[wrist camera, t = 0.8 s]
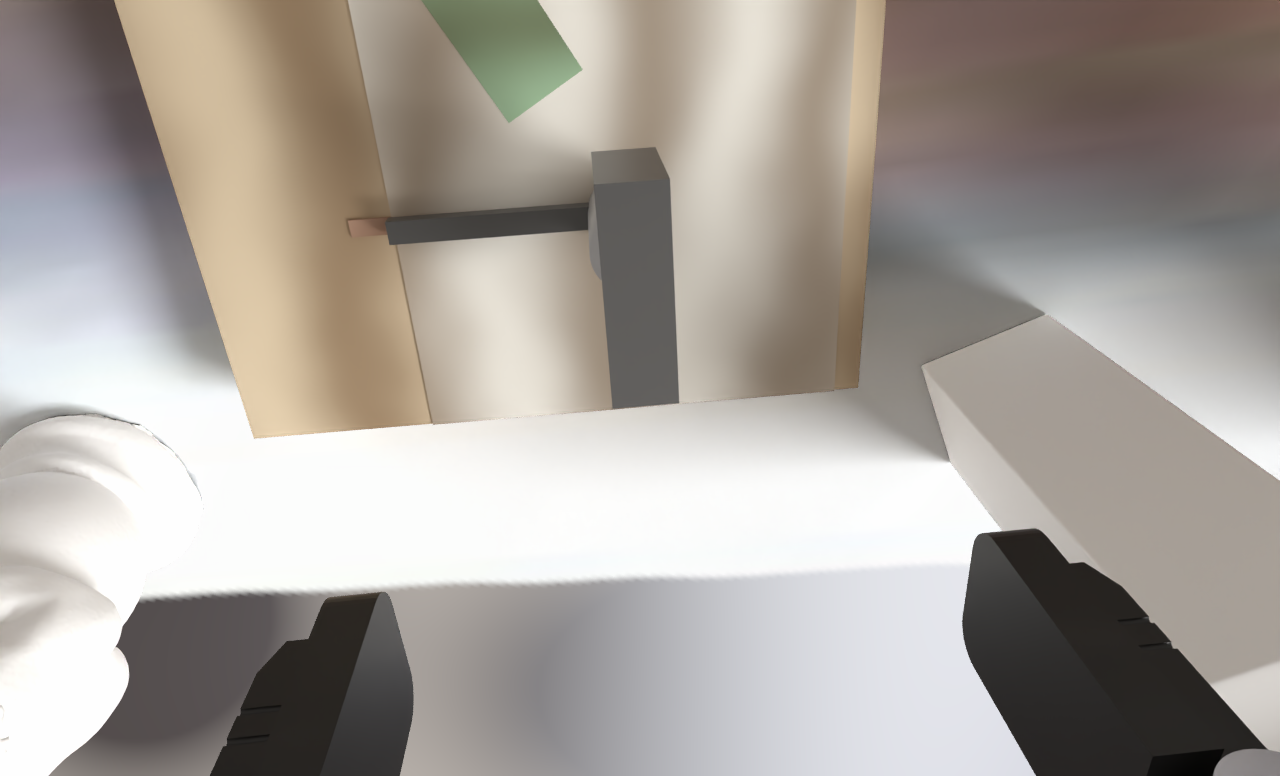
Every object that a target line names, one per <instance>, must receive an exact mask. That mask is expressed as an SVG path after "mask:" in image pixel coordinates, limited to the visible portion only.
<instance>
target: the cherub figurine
mask: <svg viewBox="0 0 1280 776" xmlns="http://www.w3.org/2000/svg"><path fill="white" fill-rule="evenodd" d="M201 501H202V500H201V496H200V493H199V492H198V490H197V488H196V486H194V484H193V482H192V480H191V478H190V476H189V474H188V473H187V471H186V468H185V467H184V465H183V464H182V463H181V461H180V460H179V459H178V458H177V456H175V453H174V452H173V451H171V449H169V448H168V447H165V445H164V444H161V443H160V442H159V440H158V439H156V438H155V437H154V436H153V434H152V433H151V432H149V431H147V430H146V429H144V427H142V426H141V425H140V426H138V425H135V424H133V425H131V424H130V423H127V422H123V421H120V420H112V419H111V418H108V417H107V418H104V417H103V416H100V415H98V414H96V415H94V414H88V415H86V414H85V416H84V415H76V416H61V417H59V416H55V418H48V419H46V420H42V421H39V422H36V423H34V424H31V425H29V426H27V427H25V428H23V429H22V430H20V431H19V432H17V433H16V434H14V435H13V436H12V437H11V438H10V439H9V440H8V441H7V442H6V443H5V444H4V445H3V446H2V447H1V449H0V776H48V775H49V774H50V773H51V772H52V771H53V770H54V769H55V768H56V767H57V766H58V765H59V764H60V763H61V762H62V761H63V760H64V759H65V758H67V757H68V756H69V755H70V754H71V753H72V752H74V751H75V750H77V749H78V748H79V747H81V746H82V745H83V744H84V743H86V742H87V741H88V740H89V739H90V738H91V737H92V736H93V735H94V734H95V733H96V732H97V731H98V730H99V729H100V728H101V727H102V725H103V724H104V723H105V722H106V720H107V719H108V718H109V716H110V715H111V713H112V712H113V711H114V709H115V708H116V706H117V705H118V703H119V702H120V700H121V698H122V696H123V694H124V692H125V689H126V687H127V684H128V680H129V669H128V664H127V661H126V659H125V656H124V655H123V653H122V652H121V651H120V650H119V649H118V648H117V647H115V646H116V644H117V643H118V640H119V637H120V634H121V630H122V626H123V625H124V623H125V622H126V621H127V619H128V618H129V616H130V615H131V613H132V611H133V610H134V608H135V606H136V604H137V602H138V600H139V598H140V596H141V593H142V591H143V587H144V583H145V580H146V573H147V572H151V571H154V570H156V569H159V568H162V567H164V566H166V565H167V564H169V563H171V562H172V561H174V560H175V559H176V558H178V557H179V556H180V555H181V554H182V553H183V552H184V551H185V550H186V549H187V548H188V546H189V545H190V544H191V542H192V540H193V538H194V536H195V533H196V531H197V527H198V524H199V518H200V515H201V514H202V511H203V510H204V509H203V505H202V504H201Z"/></svg>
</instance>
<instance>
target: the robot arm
mask: <svg viewBox="0 0 1280 776" xmlns="http://www.w3.org/2000/svg"><path fill="white" fill-rule="evenodd" d="M962 622H963V623H962V624H963V625H962V626H963V635H964V641H965V645H966V649H967V652H968V655H969V658H970V660H971V663H972V664H973V666H974V668H975V670H976V672H977V673H978V675H979V677H980V679H981V680H982V682H983V684H984V686H985V687H986V689H987V691H988V693H989V694H990V696H991V698H992V700H993V701H994V703H995V705H996V707H997V708H998V710H999V712H1000V714H1001V715H1002V717H1003V719H1004V721H1005V722H1006V724H1007V726H1008V728H1009V729H1010V731H1011V733H1012V735H1013V736H1014V738H1015V740H1016V742H1017V743H1018V745H1019V747H1020V748H1021V750H1022V752H1023V754H1024V755H1025V757H1026V759H1027V761H1028V762H1029V764H1030V766H1031V768H1032V769H1033V771H1034V773H1035V774H1036V776H1280V752H1277V751H1272V750H1268V749H1267V748H1266V747H1265V746H1264V745H1263V744H1262V743H1261V742H1260V741H1259V739H1258V738H1257V737H1256V736H1255V735H1254V734H1253V733H1252V732H1251V730H1250V729H1249V728H1248V727H1247V726H1246V725H1245V724H1244V723H1243V721H1242V720H1241V719H1240V718H1239V717H1238V716H1237V715H1236V714H1235V712H1234V711H1233V710H1232V709H1231V708H1230V707H1229V706H1228V705H1227V704H1226V702H1225V701H1224V700H1223V699H1222V698H1221V697H1220V696H1219V695H1218V693H1217V692H1216V691H1215V690H1214V689H1213V688H1212V687H1211V686H1210V684H1209V683H1208V682H1207V681H1206V680H1205V679H1204V678H1203V677H1202V675H1201V674H1200V673H1199V672H1198V671H1197V670H1196V669H1195V668H1194V666H1193V665H1192V664H1191V663H1190V662H1189V661H1188V660H1187V659H1186V657H1185V656H1184V655H1183V654H1182V653H1181V652H1180V651H1179V650H1178V649H1177V648H1176V649H1174V648H1173V647H1172V644H1171V641H1170V640H1169V638H1168V637H1167V636H1166V635H1165V634H1164V633H1163V632H1162V631H1161V629H1160V628H1159V627H1158V626H1157V625H1156V624H1155V623H1151V622H1150V621H1149V616H1148V615H1147V614H1146V613H1145V611H1144V610H1143V609H1142V608H1141V607H1140V606H1139V605H1138V604H1137V603H1136V601H1135V600H1134V599H1133V598H1132V597H1131V596H1130V595H1129V594H1128V592H1127V591H1126V590H1125V589H1124V588H1123V587H1122V586H1121V585H1119V584H1118V583H1116V582H1114V581H1113V580H1111V579H1110V578H1108V577H1107V576H1105V575H1103V574H1102V573H1100V572H1099V571H1097V570H1096V569H1094V568H1092V567H1091V566H1089V565H1088V564H1086V563H1085V562H1079V563H1069V562H1068V561H1067V560H1066V559H1065V557H1064V556H1063V555H1062V554H1061V553H1060V551H1059V550H1058V549H1057V548H1056V547H1055V545H1054V544H1053V543H1052V542H1051V541H1050V539H1049V538H1048V537H1047V536H1046V535H1045V534H1044V533H1043V532H1042V531H1040V530H1039V529H1036V528H1031V529H1021V530H1011V531H1001V532H991V533H982V534H979V535H978V536H977V537H976V539H975V541H974V545H973V550H972V557H971V564H970V570H969V577H968V584H967V591H966V598H965V604H964V612H963V620H962ZM412 715H413V682H412V676H411V671H410V667H409V664H408V660H407V656H406V653H405V649H404V645H403V642H402V638H401V635H400V631H399V628H398V623H397V620H396V616H395V613H394V609H393V605H392V602H391V599H390V597H389V596H388V594H387V593H386V592H377V593H367V594H357V595H348V596H337V597H329V598H327V599H326V600H325V601H324V603H323V605H322V607H321V609H320V612H319V614H318V617H317V619H316V621H315V624H314V626H313V629H312V632H311V634H310V636H309V639H305V640H296V641H287V642H286V643H285V644H284V645H283V646H282V647H281V648H280V649H279V650H278V651H277V652H276V654H275V655H274V656H273V657H272V658H271V659H270V660H269V661H268V662H267V663H266V664H265V665H264V666H263V667H262V669H261V670H260V671H259V672H258V673H257V674H256V676H255V678H254V681H253V683H252V685H251V687H250V689H249V692H248V694H247V696H246V698H245V700H244V703H243V705H242V707H241V715H240V716H237V718H236V720H235V722H234V724H233V726H232V729H231V731H230V733H229V735H228V738H227V746H224V747H223V748H222V750H221V752H220V755H219V757H218V759H217V761H216V763H215V766H214V768H213V770H212V772H211V774H210V776H400V772H401V767H402V763H403V758H404V754H405V749H406V745H407V740H408V736H409V731H410V727H411V722H412Z"/></svg>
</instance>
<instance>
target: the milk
mask: <svg viewBox="0 0 1280 776" xmlns="http://www.w3.org/2000/svg"><path fill="white" fill-rule="evenodd" d="M922 371H923V374H924V377H925V381H926V384H927V387H928V390H929V394H930V397H931V400H932V403H933V407H934V410H935V413H936V416H937V420H938V423H939V426H940V429H941V433H942V436H943V439H944V442H945V446H946V449H947V452H948V455H949V459H950V462H951V464H952V466H953V467H954V468H955V470H956V471H957V472H958V474H959V475H960V476H961V478H962V479H963V480H964V481H965V483H966V484H967V485H968V487H969V488H970V489H971V491H972V492H973V493H974V495H975V496H976V497H977V498H978V500H979V501H980V502H981V504H982V505H983V506H984V508H985V509H986V510H987V511H988V513H989V514H990V515H991V517H992V518H993V519H994V521H995V522H996V523H997V525H998V526H999V527H1000V528H1001V530H1002V531H1011V530H1021V529H1031V528H1036V529H1039V530H1040V531H1042V532H1043V533H1044V534H1045V535H1046V536H1047V537H1048V538H1049V539H1050V541H1051V542H1052V543H1053V544H1054V545H1055V547H1056V548H1057V549H1058V550H1059V551H1060V553H1061V554H1062V555H1063V556H1064V557H1065V559H1066V560H1067V561H1068V562H1069V563H1079V562H1085V563H1086V564H1088V565H1089V566H1091V567H1092V568H1094V569H1096V570H1097V571H1099V572H1100V573H1102V574H1103V575H1105V576H1107V577H1108V578H1110V579H1111V580H1113V581H1114V582H1116V583H1118V584H1119V585H1121V586H1122V587H1123V588H1124V589H1125V590H1126V591H1127V592H1128V594H1129V595H1130V596H1131V597H1132V598H1133V599H1134V600H1135V601H1136V603H1137V604H1138V605H1139V606H1140V607H1141V608H1142V609H1143V610H1144V611H1145V613H1146V614H1147V615H1148V616H1149V621H1150V622H1151V623H1155V624H1156V625H1157V626H1158V627H1159V628H1160V629H1161V631H1162V632H1163V633H1164V634H1165V635H1166V636H1167V637H1168V638H1169V640H1170V641H1171V644H1172V647H1173V648H1174V649H1176V648H1177V649H1178V650H1179V651H1180V652H1181V653H1182V654H1183V655H1184V656H1185V657H1186V659H1187V660H1188V661H1189V662H1190V663H1191V664H1192V665H1193V666H1194V668H1195V669H1196V670H1197V671H1198V672H1199V673H1200V674H1201V675H1202V677H1203V678H1204V679H1205V680H1206V681H1207V682H1208V683H1209V684H1210V686H1211V687H1212V688H1213V689H1214V690H1215V691H1216V692H1217V693H1218V695H1219V696H1220V697H1221V698H1222V699H1223V700H1224V701H1225V702H1226V704H1227V705H1228V706H1229V707H1230V708H1231V709H1232V710H1233V711H1234V712H1235V714H1236V715H1237V716H1238V717H1239V718H1240V719H1241V720H1242V721H1243V723H1244V724H1245V725H1246V726H1247V727H1248V728H1249V729H1250V730H1251V732H1252V733H1253V734H1254V735H1255V736H1256V737H1257V738H1258V739H1259V741H1260V742H1261V743H1262V744H1263V745H1264V746H1265V747H1266V748H1267V749H1268V750H1272V751H1277V752H1280V481H1279V480H1278V479H1276V478H1275V477H1274V476H1272V475H1271V474H1269V473H1268V472H1267V471H1265V470H1264V469H1262V468H1261V467H1260V466H1258V465H1257V464H1256V463H1254V462H1253V461H1251V460H1250V459H1249V458H1247V457H1246V456H1244V455H1243V454H1242V453H1240V452H1239V451H1237V450H1236V449H1235V448H1233V447H1232V446H1230V445H1229V444H1228V443H1226V442H1225V441H1224V440H1222V439H1221V438H1219V437H1218V436H1217V435H1215V434H1214V433H1212V432H1211V431H1210V430H1208V429H1207V428H1205V427H1204V426H1203V425H1201V424H1200V423H1198V422H1197V421H1196V420H1194V419H1193V418H1191V417H1190V416H1189V415H1187V414H1186V413H1185V412H1183V411H1182V410H1180V409H1179V408H1178V407H1176V406H1175V405H1173V404H1172V403H1171V402H1169V401H1168V400H1166V399H1165V398H1164V397H1162V396H1161V395H1159V394H1158V393H1157V392H1155V391H1154V390H1153V389H1151V388H1150V387H1148V386H1147V385H1146V384H1144V383H1143V382H1141V381H1140V380H1139V379H1137V378H1136V377H1134V376H1133V375H1132V374H1130V373H1129V372H1127V371H1126V370H1125V369H1123V368H1122V367H1121V366H1119V365H1118V364H1116V363H1115V362H1114V361H1112V360H1111V359H1109V358H1108V357H1107V356H1105V355H1104V354H1102V353H1101V352H1100V351H1098V350H1097V349H1095V348H1094V347H1093V346H1091V345H1090V344H1089V343H1087V342H1086V341H1084V340H1083V339H1082V338H1080V337H1079V336H1077V335H1076V334H1075V333H1073V332H1072V331H1070V330H1069V329H1068V328H1066V327H1065V326H1063V325H1062V324H1061V323H1059V322H1058V321H1057V320H1055V319H1054V318H1052V317H1051V316H1049V315H1043V316H1041V317H1038V318H1036V319H1033V320H1031V321H1028V322H1026V323H1024V324H1021V325H1019V326H1016V327H1014V328H1011V329H1009V330H1007V331H1004V332H1002V333H999V334H997V335H994V336H992V337H989V338H987V339H985V340H982V341H980V342H977V343H975V344H972V345H970V346H967V347H965V348H963V349H960V350H958V351H955V352H953V353H950V354H948V355H945V356H943V357H941V358H938V359H936V360H933V361H931V362H928V363H926V364H924V365H922Z"/></svg>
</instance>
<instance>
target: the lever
mask: <svg viewBox="0 0 1280 776" xmlns="http://www.w3.org/2000/svg"><path fill="white" fill-rule="evenodd" d="M591 157H592V170H593V183H594V190H593V192H592V194H591V196H590V198H589V202H587V203H574V204H561V205H547V206H534V207H521V208H507V209H494V210H481V211H468V212H454V213H441V214H428V215H415V216H401V217H388V219H387V220H386V221H385V226H386V231H387V235H388V240H389V245H400V244H413V243H426V242H439V241H452V240H465V239H478V238H491V237H504V236H517V235H530V234H543V233H556V232H569V231H582V230H588V231H589V253H590V262H591V265H592V268H593V270H594V272H595V273H596V275H597V276H598V277H599V279H600V280H601V281H602V290H603V302H604V313H605V325H606V337H607V349H608V361H609V373H610V385H611V397H612V409H618V408H630V407H642V406H654V405H666V404H677V403H679V384H678V360H677V336H676V311H675V287H674V263H673V239H672V214H671V190H670V178H669V176H668V173H667V171H666V169H665V167H664V165H663V162H662V160H661V158H660V156H659V154H658V152H657V149H656V147H649V148H635V149H622V150H608V151H595V152H591Z"/></svg>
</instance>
